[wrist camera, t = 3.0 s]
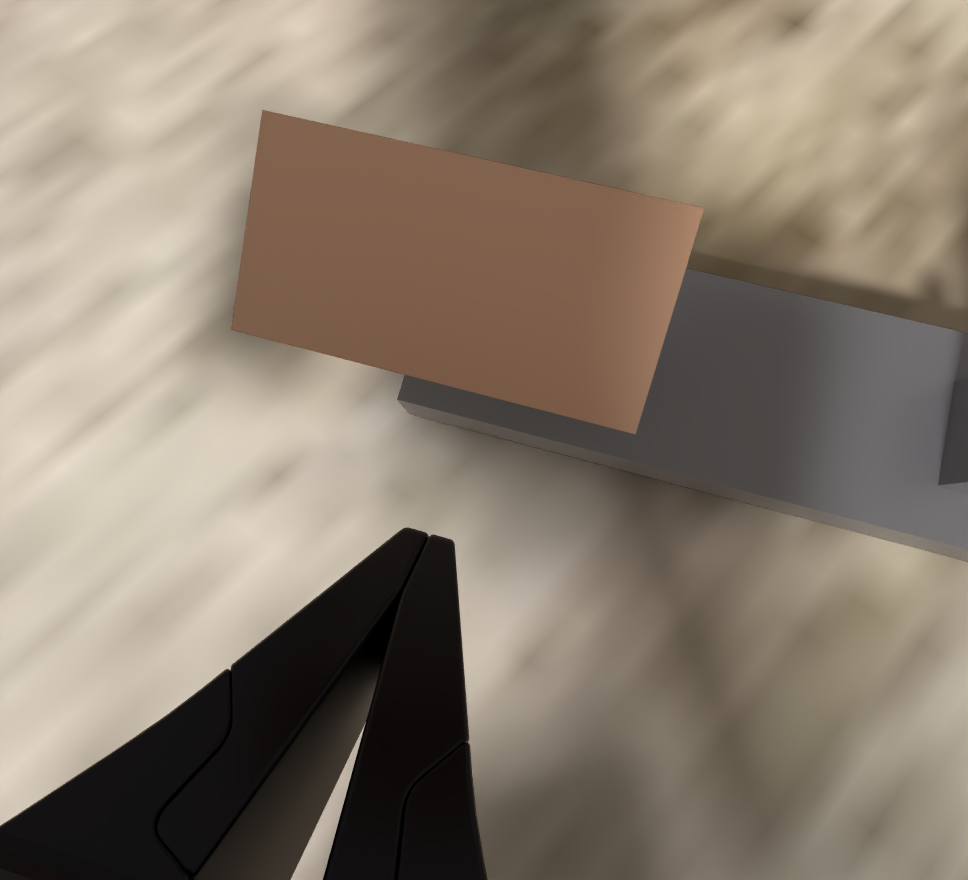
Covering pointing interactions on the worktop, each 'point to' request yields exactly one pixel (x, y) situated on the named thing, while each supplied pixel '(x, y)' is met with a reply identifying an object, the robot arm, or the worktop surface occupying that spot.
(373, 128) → the worktop surface
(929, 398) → the switch base
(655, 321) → the block
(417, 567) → the robot arm
